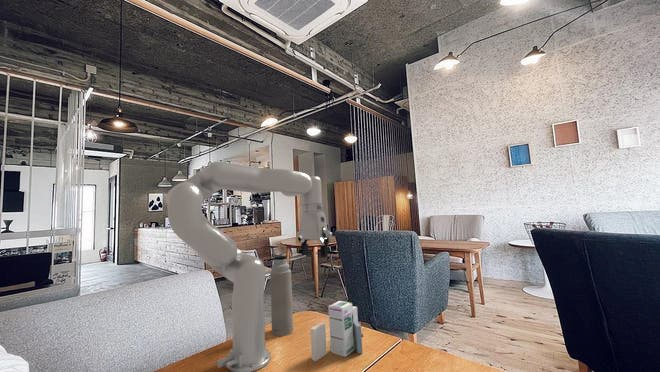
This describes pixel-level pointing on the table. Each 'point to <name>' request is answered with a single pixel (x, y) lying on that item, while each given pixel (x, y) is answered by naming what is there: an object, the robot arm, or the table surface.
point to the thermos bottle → (281, 297)
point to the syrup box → (341, 328)
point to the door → (358, 336)
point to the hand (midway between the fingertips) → (314, 255)
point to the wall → (322, 339)
